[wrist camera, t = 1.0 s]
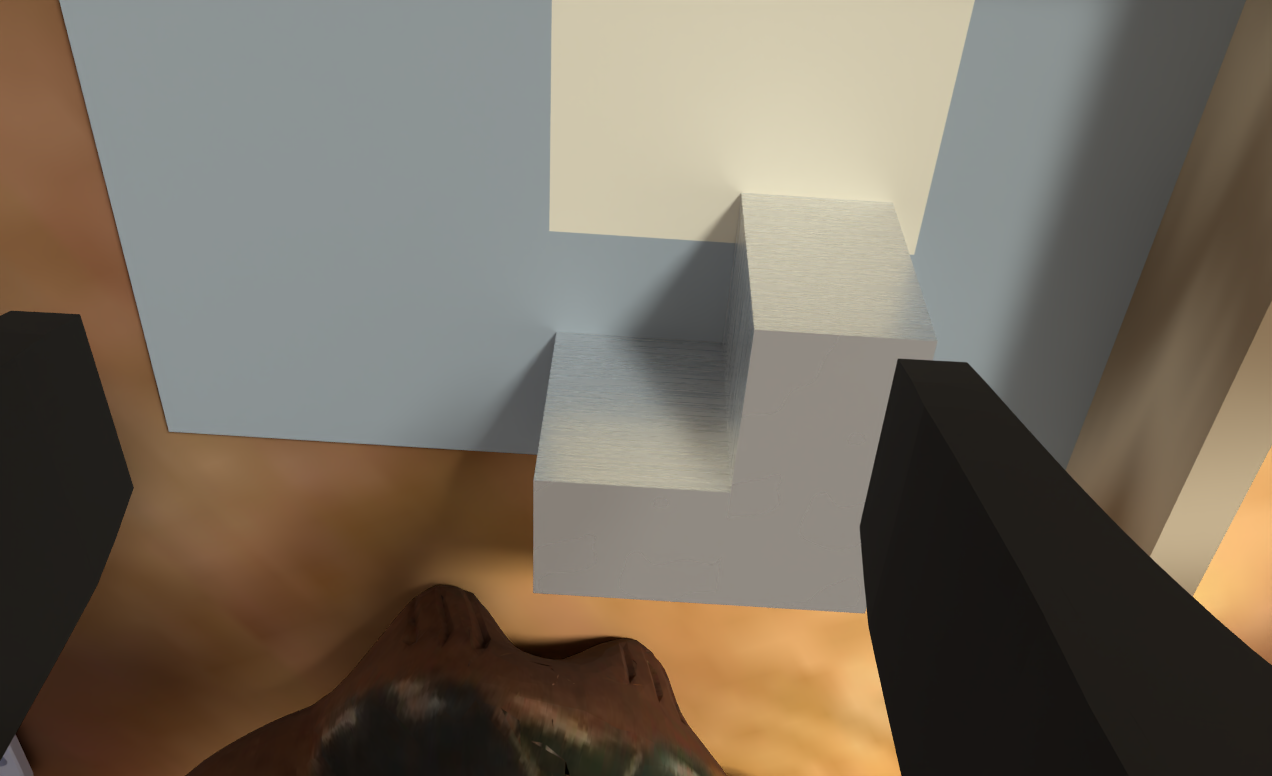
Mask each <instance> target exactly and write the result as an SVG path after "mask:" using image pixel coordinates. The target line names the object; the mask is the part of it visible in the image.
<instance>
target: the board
mask: <svg viewBox="0 0 1272 776" xmlns="http://www.w3.org/2000/svg"><path fill="white" fill-rule="evenodd" d="M59 1H60V5H61V9H62V13H63V17H64V21H65V25H66V29H67V33H68V37H69V41H70V44H71V48H72V52H73V56H74V60H75V64H76V68H77V72H78V76H79V80H80V84H81V88H82V92H83V96H84V99H85V103H86V107H87V111H88V115H89V119H90V123H91V127H92V131H93V135H94V139H95V143H96V147H97V151H98V155H99V158H100V162H101V166H102V170H103V174H104V178H105V182H106V186H107V190H108V194H109V198H110V202H111V206H112V210H113V213H114V217H115V221H116V225H117V229H118V233H119V237H120V241H121V245H122V249H123V253H124V257H125V261H126V265H127V269H128V272H129V276H130V280H131V284H132V288H133V292H134V296H135V300H136V304H137V308H138V312H139V316H140V320H141V324H142V327H143V331H144V335H145V339H146V343H147V347H148V351H149V355H150V359H151V363H152V367H153V371H154V375H155V379H156V382H157V386H158V390H159V394H160V398H161V402H162V406H163V410H164V414H165V418H166V422H167V426H168V430H169V432H185V433H201V434H217V435H232V436H248V437H264V438H280V439H296V440H312V441H328V442H344V443H360V444H375V445H391V446H407V447H423V448H439V449H455V450H471V451H487V452H503V453H518V454H534V455H537V454H538V448H539V442H540V435H541V429H542V422H543V416H544V409H545V403H546V396H547V390H548V383H549V377H550V371H551V364H552V358H553V351H554V345H555V338H556V332H569V333H585V334H600V335H616V336H631V337H647V338H663V339H678V340H694V341H710V342H723V334H724V326H725V319H726V311H727V303H728V295H729V287H730V279H731V271H732V263H733V255H734V247H735V239H736V231H737V223H738V215H739V207H740V199H741V193H754V194H769V195H784V196H800V197H815V198H830V199H845V200H861V201H876V202H891V203H893V205H894V208H895V211H896V214H897V217H898V220H899V223H900V226H901V229H902V233H903V236H904V239H905V242H906V245H907V248H908V251H909V254H910V257H911V260H912V263H913V267H914V270H915V273H916V276H917V279H918V282H919V285H920V288H921V291H922V294H923V298H924V301H925V304H926V307H927V310H928V313H929V316H930V319H931V322H932V325H933V329H934V332H935V335H936V338H937V341H938V342H937V345H936V349H935V353H934V357H933V360H935V361H954V362H967V363H968V364H969V365H970V366H971V367H972V368H973V369H974V370H975V371H976V372H977V373H978V374H979V375H980V376H981V377H982V378H983V380H984V381H985V382H986V383H987V384H988V385H989V386H990V387H991V388H992V390H993V391H994V392H995V393H996V394H997V395H998V396H999V397H1000V398H1001V400H1002V401H1003V402H1004V403H1005V404H1006V405H1007V406H1008V407H1009V409H1010V410H1011V411H1012V412H1013V413H1014V414H1015V415H1016V416H1017V418H1018V419H1019V420H1020V421H1021V422H1022V423H1023V424H1024V425H1025V426H1026V428H1027V429H1028V430H1029V431H1030V432H1031V433H1032V434H1033V435H1034V436H1035V438H1036V439H1037V440H1038V441H1039V442H1040V443H1041V444H1042V445H1043V446H1044V447H1045V449H1046V450H1047V451H1048V452H1049V453H1050V454H1051V455H1052V456H1053V457H1054V459H1055V460H1056V461H1057V462H1058V463H1059V464H1060V465H1061V466H1062V467H1063V468H1064V469H1065V470H1066V468H1067V465H1068V462H1069V460H1070V457H1071V455H1072V452H1073V449H1074V447H1075V444H1076V442H1077V439H1078V436H1079V434H1080V431H1081V429H1082V426H1083V423H1084V421H1085V418H1086V416H1087V413H1088V410H1089V408H1090V405H1091V403H1092V400H1093V397H1094V395H1095V392H1096V390H1097V387H1098V384H1099V382H1100V379H1101V377H1102V374H1103V371H1104V369H1105V366H1106V363H1107V361H1108V358H1109V356H1110V353H1111V350H1112V348H1113V345H1114V343H1115V340H1116V337H1117V335H1118V332H1119V330H1120V327H1121V324H1122V322H1123V319H1124V317H1125V314H1126V311H1127V309H1128V306H1129V304H1130V301H1131V298H1132V296H1133V293H1134V291H1135V288H1136V285H1137V283H1138V280H1139V278H1140V275H1141V272H1142V270H1143V267H1144V265H1145V262H1146V259H1147V257H1148V254H1149V252H1150V249H1151V246H1152V244H1153V241H1154V239H1155V236H1156V233H1157V231H1158V228H1159V226H1160V223H1161V220H1162V218H1163V215H1164V213H1165V210H1166V207H1167V205H1168V202H1169V200H1170V197H1171V194H1172V192H1173V189H1174V187H1175V184H1176V181H1177V179H1178V176H1179V174H1180V171H1181V168H1182V166H1183V163H1184V161H1185V158H1186V155H1187V153H1188V150H1189V148H1190V145H1191V142H1192V140H1193V137H1194V135H1195V132H1196V129H1197V127H1198V124H1199V122H1200V119H1201V116H1202V114H1203V111H1204V109H1205V106H1206V103H1207V101H1208V98H1209V96H1210V93H1211V90H1212V88H1213V85H1214V83H1215V80H1216V77H1217V75H1218V72H1219V70H1220V67H1221V64H1222V62H1223V59H1224V57H1225V54H1226V51H1227V49H1228V46H1229V44H1230V41H1231V38H1232V36H1233V33H1234V31H1235V28H1236V25H1237V23H1238V20H1239V18H1240V15H1241V12H1242V10H1243V7H1244V5H1245V2H1246V0H59Z"/></svg>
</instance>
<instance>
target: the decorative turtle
mask: <svg viewBox="0 0 1272 776" xmlns="http://www.w3.org/2000/svg"><path fill="white" fill-rule="evenodd" d="M185 776H726V775H725V773H724V771H723V770H722V768H721V767H720V765H719V764H718V763H717V761H716V760H715V759H714V758H713V756H712V755H711V754H710V752H709V751H708V750H707V749H706V747H705V746H704V745H703V743H702V742H701V741H700V739H699V738H698V737H697V736H696V734H695V733H694V732H693V731H692V729H691V728H690V727H689V725H688V724H687V722H686V720H685V719H684V717H683V715H682V713H681V712H680V709H679V707H678V704H677V702H676V699H675V696H674V693H673V691H672V688H671V685H670V681H669V679H668V676H667V674H666V672H665V669H664V668H663V666H662V665H661V663H660V662H659V661H658V660H657V659H656V658H655V656H654V655H653V653H652V652H651V651H650V650H648V649H647V648H646V647H645V646H644V645H642V644H641V643H640V642H638V641H637V640H632V639H626V638H623V639H618V640H613V641H609V642H605V643H602V644H599V645H596V646H593V647H591V648H589V649H587V650H585V651H583V652H581V653H579V654H576V655H573V656H570V657H568V658H565V659H562V660H558V659H546V658H541V657H538V656H535V655H531V654H528V653H525V652H523V651H521V650H520V649H518V648H516V647H515V646H514V645H513V644H512V643H511V642H510V641H509V640H508V639H507V637H506V636H505V635H504V633H503V632H502V630H501V629H500V627H499V626H498V625H497V623H496V622H495V620H494V619H493V617H492V616H491V615H490V613H489V612H488V610H487V609H486V608H485V607H484V606H483V605H482V604H481V603H480V601H479V600H478V599H477V598H476V596H475V595H474V594H473V593H471V592H468V591H465V590H462V589H460V588H458V587H454V586H449V585H438V586H435V587H432V588H429V589H427V590H426V591H424V592H422V593H421V594H419V595H418V596H416V597H415V598H414V599H413V600H412V601H411V602H410V603H409V604H408V605H407V606H406V607H405V608H404V609H403V610H402V612H401V613H400V614H399V615H398V616H397V617H396V618H395V620H394V621H393V622H392V623H391V624H390V626H389V627H388V628H387V629H386V631H385V632H384V633H383V634H382V636H381V637H380V638H379V639H378V641H377V642H376V643H375V644H374V645H373V647H372V648H371V649H370V650H369V651H368V653H367V654H366V655H365V656H364V657H363V659H362V660H361V661H360V662H359V663H358V665H357V666H356V667H355V668H354V669H353V671H352V672H351V673H350V674H349V675H348V676H347V677H346V678H345V679H344V680H343V681H342V682H341V683H340V684H339V685H338V686H337V687H336V688H335V689H334V690H333V691H332V692H331V693H329V694H328V695H326V696H325V697H323V698H322V699H321V700H319V701H318V702H316V703H315V704H313V705H312V706H310V707H307V708H305V709H302V710H300V711H297V712H295V713H292V714H289V715H287V716H284V717H282V718H280V719H278V720H275V721H273V722H271V723H269V724H267V725H265V726H263V727H261V728H259V729H257V730H255V731H253V732H251V733H249V734H247V735H245V736H244V737H242V738H240V739H238V740H236V741H235V742H233V743H231V744H229V745H228V746H226V747H224V748H223V749H221V750H220V751H218V752H216V753H215V754H213V755H212V756H210V757H209V758H207V759H206V760H204V761H203V762H202V763H200V764H199V765H198V766H197V767H196V768H194V769H193V770H192V771H191V772H189V773H188V774H187V775H185Z"/></svg>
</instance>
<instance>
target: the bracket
mask: <svg viewBox="0 0 1272 776" xmlns="http://www.w3.org/2000/svg"><path fill="white" fill-rule="evenodd" d="M937 342H938V341H937V338H936V335H935V332H934V329H933V325H932V322H931V319H930V316H929V313H928V310H927V307H926V304H925V301H924V298H923V294H922V291H921V288H920V285H919V282H918V279H917V276H916V273H915V270H914V267H913V263H912V260H911V257H910V254H909V251H908V248H907V245H906V242H905V239H904V236H903V233H902V229H901V226H900V223H899V220H898V217H897V214H896V211H895V208H894V205H893V203H891V202H876V201H861V200H845V199H830V198H815V197H800V196H784V195H769V194H754V193H741V199H740V207H739V215H738V223H737V231H736V239H735V247H734V255H733V263H732V271H731V279H730V287H729V295H728V303H727V311H726V319H725V326H724V334H723V342H710V341H694V340H678V339H663V338H647V337H631V336H616V335H600V334H585V333H569V332H556V338H555V345H554V351H553V358H552V364H551V371H550V377H549V383H548V390H547V396H546V403H545V409H544V416H543V422H542V429H541V435H540V442H539V448H538V454H537V461H536V467H535V474H534V480H533V593H543V594H559V595H575V596H591V597H607V598H623V599H640V600H656V601H672V602H688V603H704V604H721V605H737V606H753V607H769V608H785V609H802V610H818V611H834V612H850V613H865V611H866V607H867V606H866V597H865V587H864V576H863V564H862V552H861V540H860V528H859V527H860V522H861V518H862V513H863V509H864V505H865V500H866V496H867V491H868V487H869V483H870V478H871V474H872V469H873V465H874V461H875V456H876V452H877V448H878V443H879V439H880V434H881V430H882V426H883V421H884V417H885V412H886V408H887V404H888V399H889V395H890V390H891V386H892V382H893V377H894V373H895V368H896V364H897V360H898V359H916V360H933V357H934V353H935V349H936V345H937Z"/></svg>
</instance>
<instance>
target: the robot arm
mask: <svg viewBox="0 0 1272 776" xmlns="http://www.w3.org/2000/svg"><path fill="white" fill-rule="evenodd" d="M133 488H134V487H133V484H132V481H131V478H130V475H129V471H128V468H127V465H126V462H125V458H124V455H123V452H122V449H121V445H120V442H119V439H118V436H117V433H116V429H115V426H114V423H113V420H112V416H111V413H110V410H109V407H108V403H107V400H106V397H105V394H104V391H103V387H102V384H101V381H100V378H99V374H98V371H97V368H96V365H95V361H94V358H93V355H92V352H91V349H90V345H89V342H88V339H87V336H86V332H85V329H84V326H83V323H82V320H81V316H80V314H62V313H43V312H24V311H10V312H7V313H5V314H3V315H1V316H0V776H33V771H32V769H31V767H30V765H29V763H28V760H27V758H26V756H25V754H24V752H23V750H22V747H21V745H20V743H19V741H18V739H17V737H16V732H17V730H18V729H19V727H20V725H21V723H22V721H23V720H24V718H25V716H26V714H27V712H28V711H29V709H30V707H31V705H32V703H33V702H34V700H35V698H36V696H37V695H38V693H39V691H40V689H41V687H42V686H43V684H44V682H45V680H46V678H47V677H48V675H49V673H50V671H51V669H52V668H53V666H54V664H55V662H56V661H57V659H58V657H59V655H60V653H61V651H62V650H63V648H64V646H65V644H66V642H67V640H68V639H69V637H70V635H71V633H72V631H73V629H74V628H75V626H76V624H77V622H78V620H79V618H80V617H81V615H82V613H83V611H84V609H85V607H86V605H87V603H88V602H89V600H90V598H91V596H92V594H93V592H94V590H95V588H96V586H97V584H98V582H99V579H100V577H101V574H102V572H103V569H104V567H105V564H106V562H107V559H108V557H109V554H110V552H111V549H112V547H113V544H114V542H115V539H116V536H117V533H118V530H119V528H120V525H121V522H122V519H123V516H124V514H125V511H126V508H127V505H128V502H129V499H130V497H131V494H132V491H133ZM859 528H860V540H861V552H862V564H863V576H864V587H865V597H866V606H867V616H868V626H869V631H870V636H871V640H872V645H873V650H874V655H875V659H876V664H877V668H878V673H879V677H880V682H881V687H882V691H883V696H884V700H885V705H886V709H887V714H888V718H889V723H890V727H891V731H892V736H893V740H894V745H895V749H896V754H897V758H898V762H899V767H900V771H901V776H1272V665H1271V664H1269V663H1268V662H1267V661H1266V660H1264V659H1263V658H1262V657H1261V656H1260V655H1258V654H1257V653H1256V652H1255V651H1253V650H1252V649H1251V648H1250V647H1249V646H1247V645H1246V644H1245V643H1244V642H1243V641H1242V640H1241V639H1239V638H1238V637H1237V636H1236V635H1235V634H1234V633H1232V632H1231V631H1230V630H1229V629H1228V628H1227V627H1225V626H1224V625H1223V624H1222V623H1221V622H1220V621H1219V620H1217V619H1216V618H1215V617H1214V616H1213V615H1212V614H1211V613H1210V612H1209V611H1208V610H1206V609H1205V608H1204V607H1203V606H1202V605H1201V604H1200V603H1199V602H1198V601H1197V600H1196V599H1195V598H1194V597H1192V596H1191V595H1190V594H1189V593H1188V592H1187V591H1186V590H1185V589H1184V588H1183V587H1182V586H1181V585H1180V584H1178V583H1177V582H1176V581H1175V580H1174V579H1173V578H1172V577H1171V576H1170V575H1169V574H1168V573H1167V572H1166V571H1164V570H1163V569H1162V568H1161V567H1160V566H1159V565H1158V564H1157V563H1156V562H1155V561H1154V560H1153V559H1152V558H1151V557H1150V556H1149V555H1148V554H1147V553H1146V552H1145V551H1144V550H1142V549H1141V548H1140V547H1139V546H1138V545H1137V544H1136V543H1135V542H1134V541H1133V540H1132V539H1131V538H1130V537H1129V536H1128V535H1127V534H1126V533H1125V532H1124V531H1123V530H1122V529H1121V528H1120V527H1119V526H1118V525H1117V524H1116V523H1115V522H1114V521H1113V520H1112V519H1111V518H1110V517H1109V516H1108V515H1107V514H1106V512H1105V511H1104V510H1103V509H1102V508H1101V507H1100V506H1099V505H1098V504H1097V503H1096V502H1095V501H1094V500H1093V499H1092V498H1091V497H1090V496H1089V495H1088V494H1087V493H1086V492H1085V491H1084V490H1083V489H1082V487H1081V486H1080V485H1079V484H1078V483H1077V482H1076V481H1075V480H1074V479H1073V478H1072V477H1071V476H1070V475H1069V474H1068V473H1067V471H1066V470H1065V469H1064V468H1063V467H1062V466H1061V465H1060V464H1059V463H1058V462H1057V461H1056V460H1055V459H1054V457H1053V456H1052V455H1051V454H1050V453H1049V452H1048V451H1047V450H1046V449H1045V447H1044V446H1043V445H1042V444H1041V443H1040V442H1039V441H1038V440H1037V439H1036V438H1035V436H1034V435H1033V434H1032V433H1031V432H1030V431H1029V430H1028V429H1027V428H1026V426H1025V425H1024V424H1023V423H1022V422H1021V421H1020V420H1019V419H1018V418H1017V416H1016V415H1015V414H1014V413H1013V412H1012V411H1011V410H1010V409H1009V407H1008V406H1007V405H1006V404H1005V403H1004V402H1003V401H1002V400H1001V398H1000V397H999V396H998V395H997V394H996V393H995V392H994V391H993V390H992V388H991V387H990V386H989V385H988V384H987V383H986V382H985V381H984V380H983V378H982V377H981V376H980V375H979V374H978V373H977V372H976V371H975V370H974V369H973V368H972V367H971V366H970V365H969V364H968V363H967V362H954V361H935V360H916V359H898V360H897V364H896V368H895V373H894V377H893V382H892V386H891V390H890V395H889V399H888V404H887V408H886V412H885V417H884V421H883V426H882V430H881V434H880V439H879V443H878V448H877V452H876V456H875V461H874V465H873V469H872V474H871V478H870V483H869V487H868V491H867V496H866V500H865V505H864V509H863V513H862V518H861V522H860V527H859Z"/></svg>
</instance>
